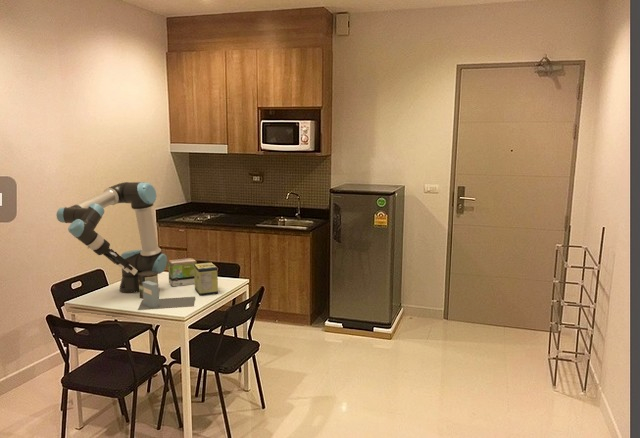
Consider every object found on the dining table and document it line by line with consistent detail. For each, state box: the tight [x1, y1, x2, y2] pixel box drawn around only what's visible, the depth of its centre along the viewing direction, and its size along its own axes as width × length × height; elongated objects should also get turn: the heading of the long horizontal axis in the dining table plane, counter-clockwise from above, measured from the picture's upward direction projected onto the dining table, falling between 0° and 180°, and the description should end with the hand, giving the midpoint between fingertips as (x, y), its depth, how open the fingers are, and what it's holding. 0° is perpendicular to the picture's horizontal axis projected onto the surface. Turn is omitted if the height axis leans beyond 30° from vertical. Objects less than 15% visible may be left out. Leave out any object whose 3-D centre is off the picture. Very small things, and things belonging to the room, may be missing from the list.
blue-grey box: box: [142, 281, 160, 308], centre depth 262 cm, size 4×10×12 cm, turn 47°
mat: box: [137, 296, 196, 311], centre depth 266 cm, size 18×28×1 cm, turn 102°
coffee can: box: [138, 271, 159, 300], centre depth 278 cm, size 10×10×14 cm
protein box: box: [194, 261, 219, 297], centre depth 289 cm, size 10×16×16 cm
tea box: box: [167, 257, 198, 288], centre depth 306 cm, size 15×10×15 cm, turn 120°
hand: (132, 271), depth 253 cm, fingers open, 6 cm apart
